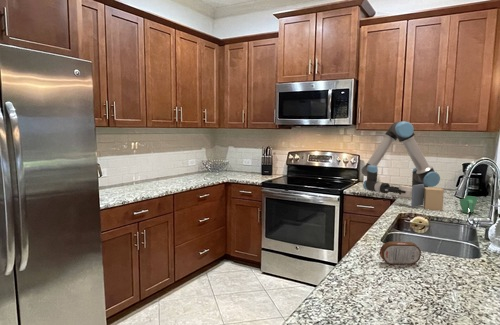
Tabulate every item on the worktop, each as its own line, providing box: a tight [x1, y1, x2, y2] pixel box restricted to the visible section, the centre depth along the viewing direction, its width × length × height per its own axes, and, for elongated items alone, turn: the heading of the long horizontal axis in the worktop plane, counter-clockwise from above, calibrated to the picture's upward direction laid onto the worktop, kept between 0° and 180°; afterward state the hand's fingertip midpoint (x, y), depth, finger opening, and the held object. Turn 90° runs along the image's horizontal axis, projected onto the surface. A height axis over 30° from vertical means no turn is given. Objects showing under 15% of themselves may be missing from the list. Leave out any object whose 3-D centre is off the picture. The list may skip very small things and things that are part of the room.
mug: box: [459, 195, 478, 214], centre depth 209 cm, size 15×10×10 cm
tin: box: [379, 241, 422, 266], centre depth 126 cm, size 15×3×8 cm, turn 90°
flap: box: [398, 184, 424, 208], centre depth 229 cm, size 12×13×14 cm
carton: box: [422, 187, 445, 212], centre depth 221 cm, size 10×10×14 cm
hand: (412, 192), depth 225 cm, fingers closed on flap, 4 cm apart
